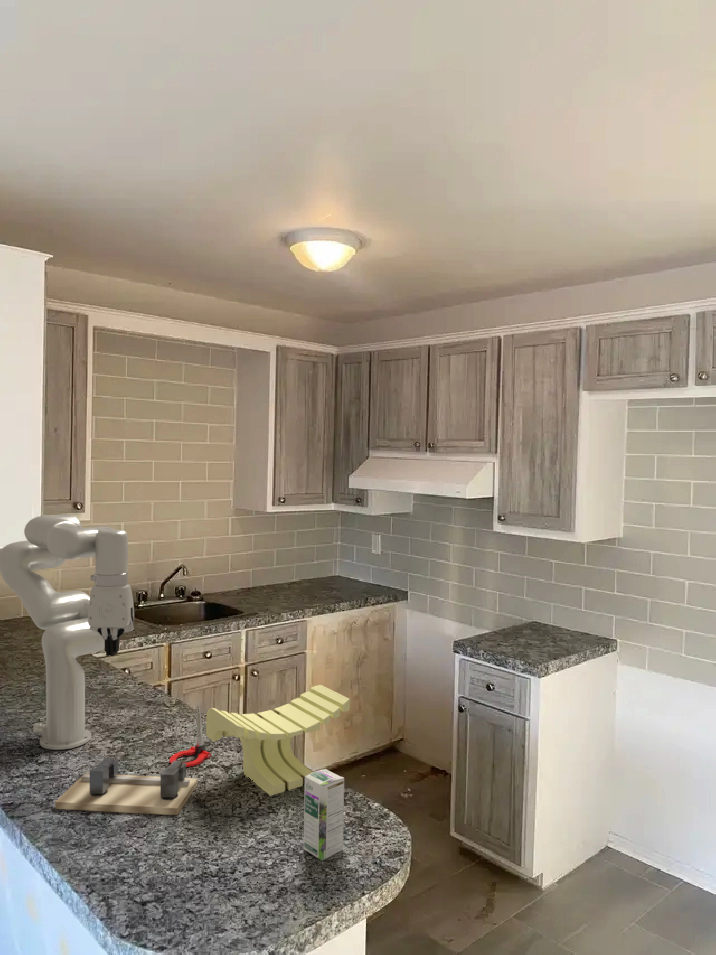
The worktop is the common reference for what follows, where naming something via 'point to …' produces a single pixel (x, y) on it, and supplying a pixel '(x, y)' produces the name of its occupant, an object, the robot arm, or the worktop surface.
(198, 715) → the tow hook
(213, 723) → the slatted curved stool
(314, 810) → the syrup box
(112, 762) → the leg
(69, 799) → the bolt plate
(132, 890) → the worktop surface
